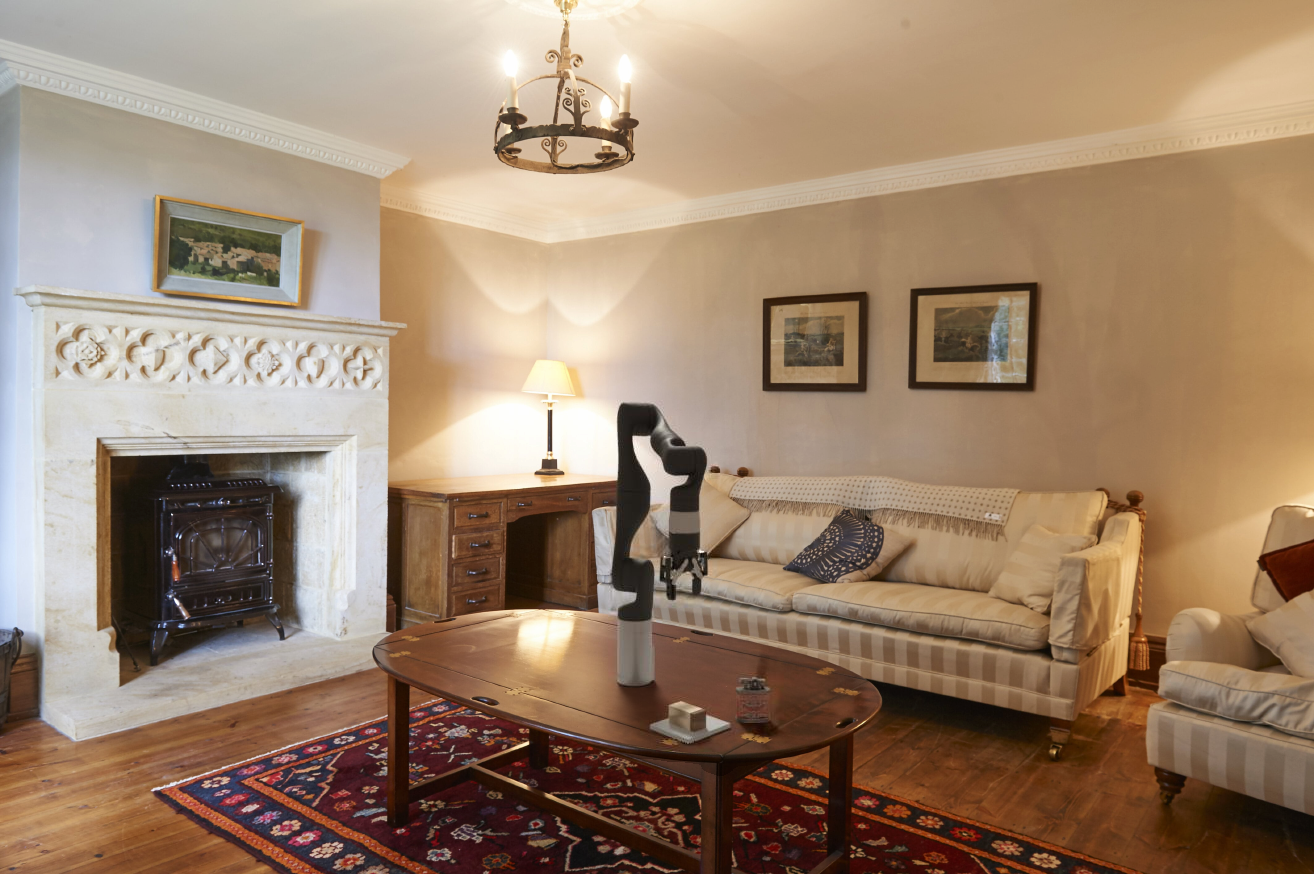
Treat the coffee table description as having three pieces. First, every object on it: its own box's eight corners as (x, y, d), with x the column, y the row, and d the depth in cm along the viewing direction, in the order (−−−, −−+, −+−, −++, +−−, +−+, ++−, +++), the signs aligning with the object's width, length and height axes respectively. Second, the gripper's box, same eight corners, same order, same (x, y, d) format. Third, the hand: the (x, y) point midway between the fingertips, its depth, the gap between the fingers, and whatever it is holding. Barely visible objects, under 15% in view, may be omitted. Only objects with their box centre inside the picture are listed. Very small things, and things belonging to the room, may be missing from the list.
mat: (692, 713, 197) (692, 709, 197) (730, 727, 188) (730, 723, 188) (649, 728, 187) (649, 724, 187) (688, 743, 178) (688, 739, 178)
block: (668, 722, 188) (668, 705, 188) (680, 718, 191) (680, 701, 191) (694, 732, 183) (694, 714, 183) (706, 727, 185) (706, 709, 185)
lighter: (768, 717, 195) (768, 675, 195) (770, 722, 192) (771, 679, 191) (734, 717, 195) (734, 675, 194) (736, 722, 191) (736, 680, 191)
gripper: (693, 525, 204) (693, 590, 204) (652, 530, 194) (651, 599, 194) (716, 528, 198) (715, 595, 199) (674, 534, 188) (674, 604, 189)
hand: (684, 597), depth 196 cm, fingers open, 8 cm apart
